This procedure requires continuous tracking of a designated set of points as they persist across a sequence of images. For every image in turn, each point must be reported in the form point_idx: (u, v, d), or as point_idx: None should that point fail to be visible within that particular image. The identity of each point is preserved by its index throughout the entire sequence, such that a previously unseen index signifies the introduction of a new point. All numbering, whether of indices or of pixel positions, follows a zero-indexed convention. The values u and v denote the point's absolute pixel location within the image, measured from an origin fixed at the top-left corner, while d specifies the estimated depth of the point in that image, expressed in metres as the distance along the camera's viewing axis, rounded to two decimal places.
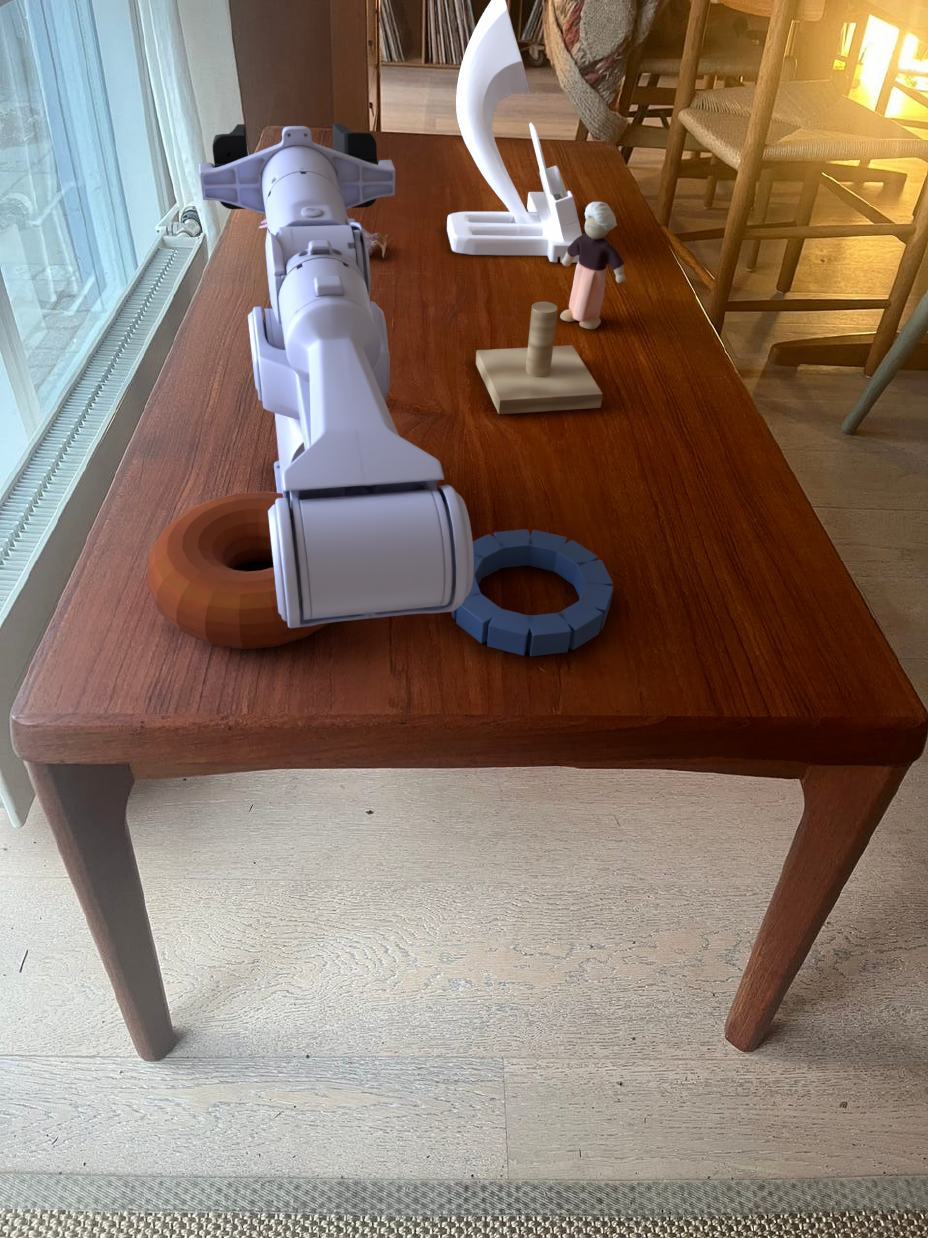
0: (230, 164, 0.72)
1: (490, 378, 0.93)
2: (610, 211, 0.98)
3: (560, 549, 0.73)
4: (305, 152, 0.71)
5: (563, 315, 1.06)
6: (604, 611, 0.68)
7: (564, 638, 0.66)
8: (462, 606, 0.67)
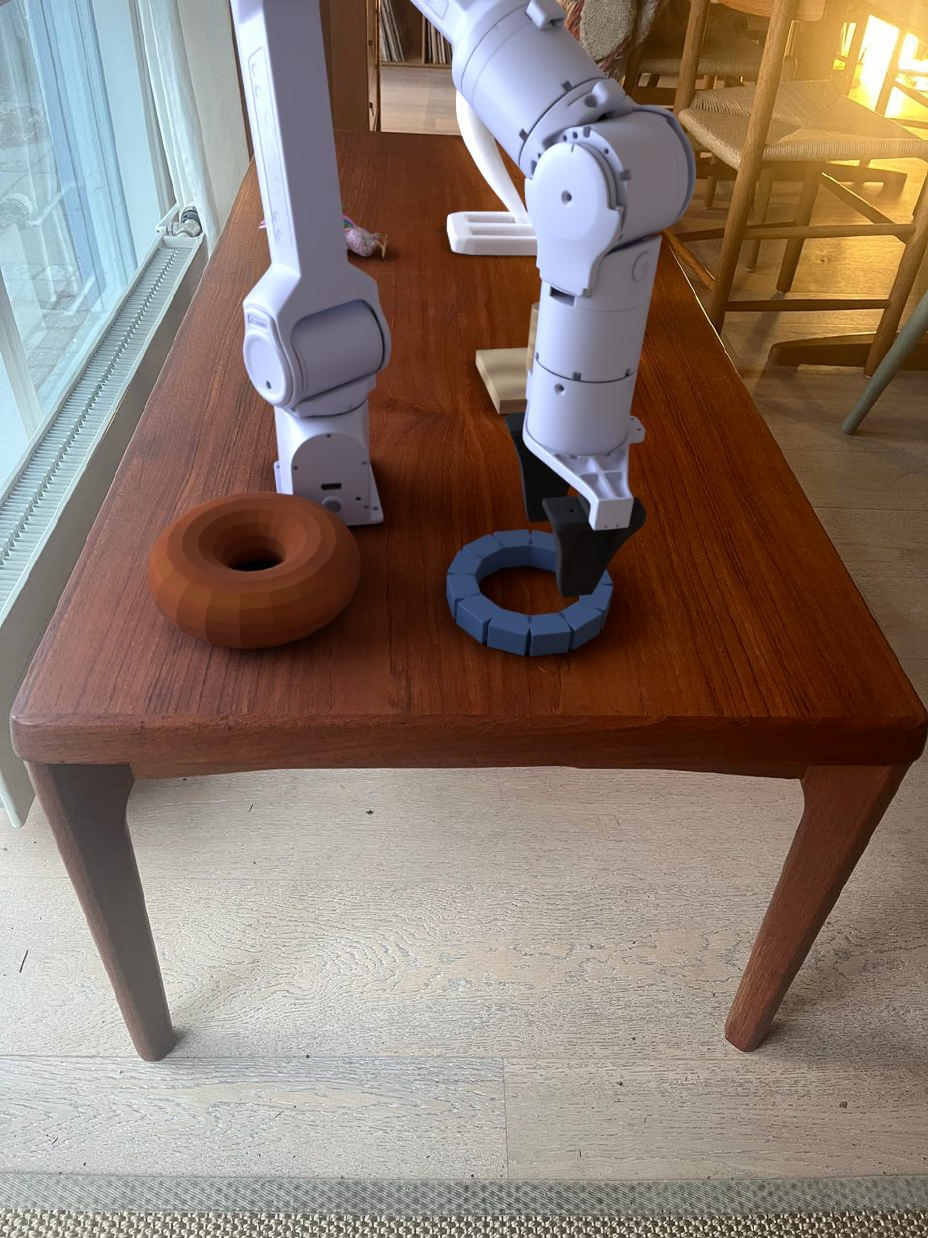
0: None
1: (490, 378, 0.93)
2: None
3: None
4: None
5: None
6: (604, 611, 0.68)
7: (564, 638, 0.66)
8: (462, 606, 0.67)
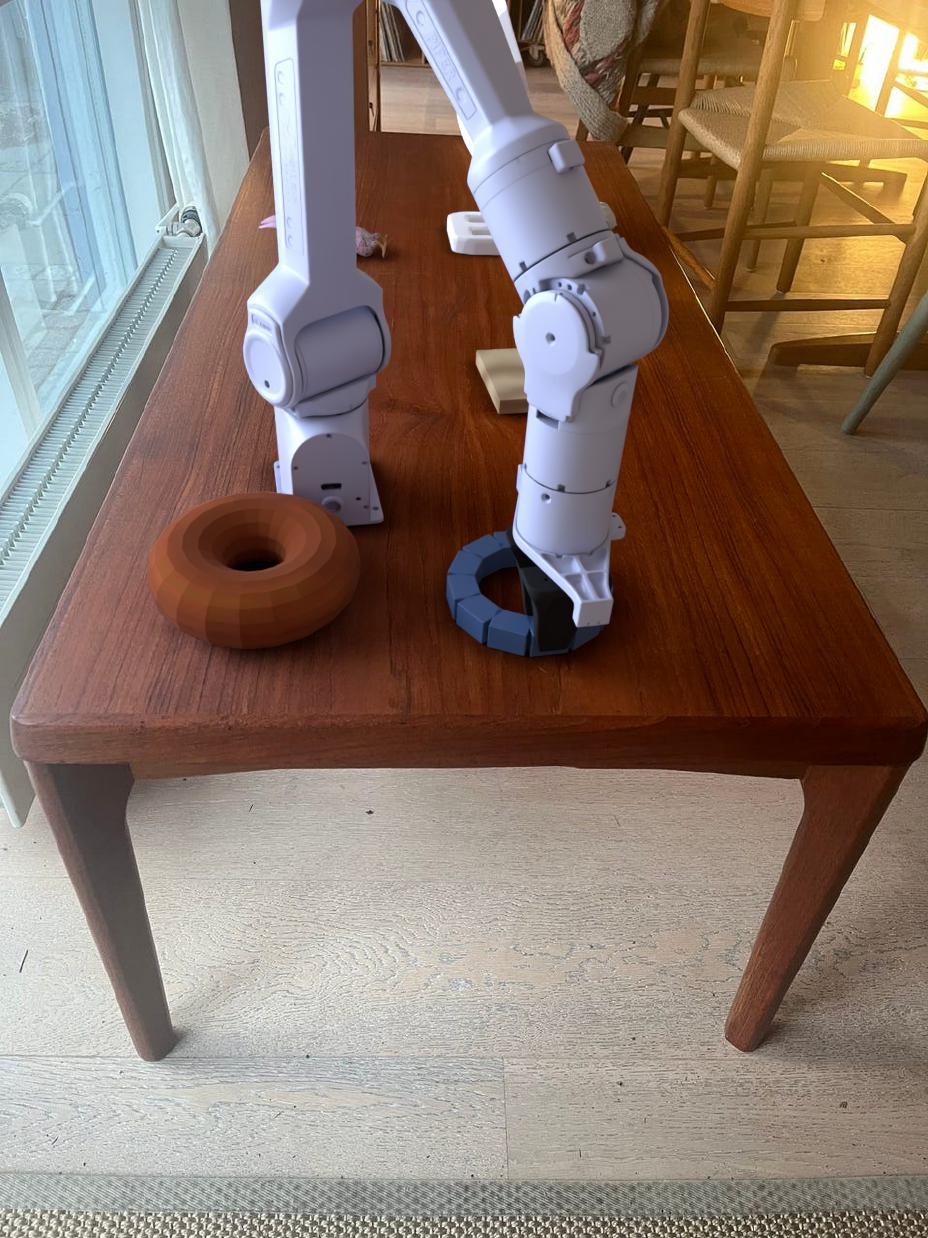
0: None
1: (490, 378, 0.93)
2: (610, 211, 0.98)
3: None
4: None
5: None
6: None
7: None
8: (462, 606, 0.67)
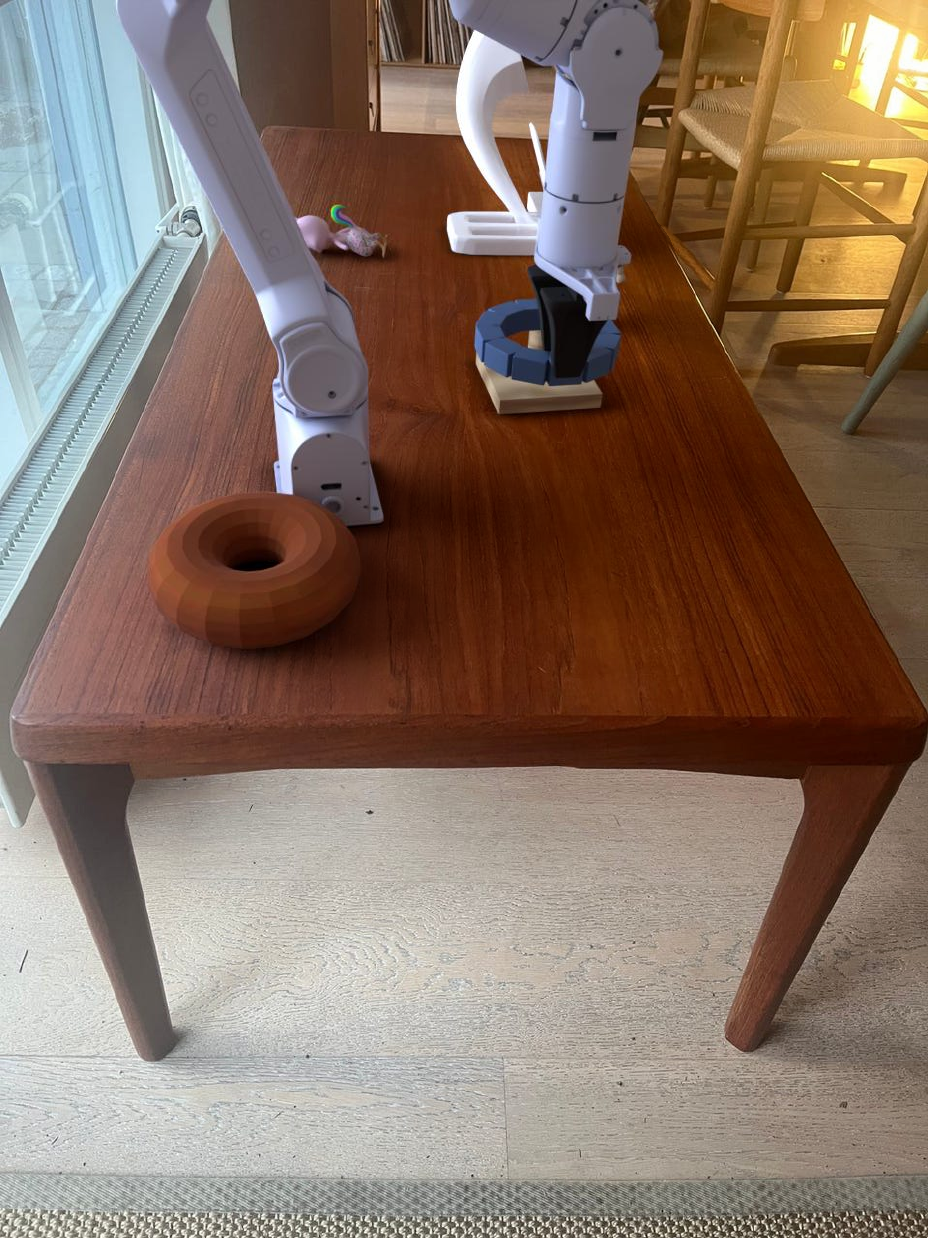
0: None
1: (490, 378, 0.93)
2: None
3: None
4: None
5: None
6: (613, 350, 0.78)
7: None
8: (489, 344, 0.77)
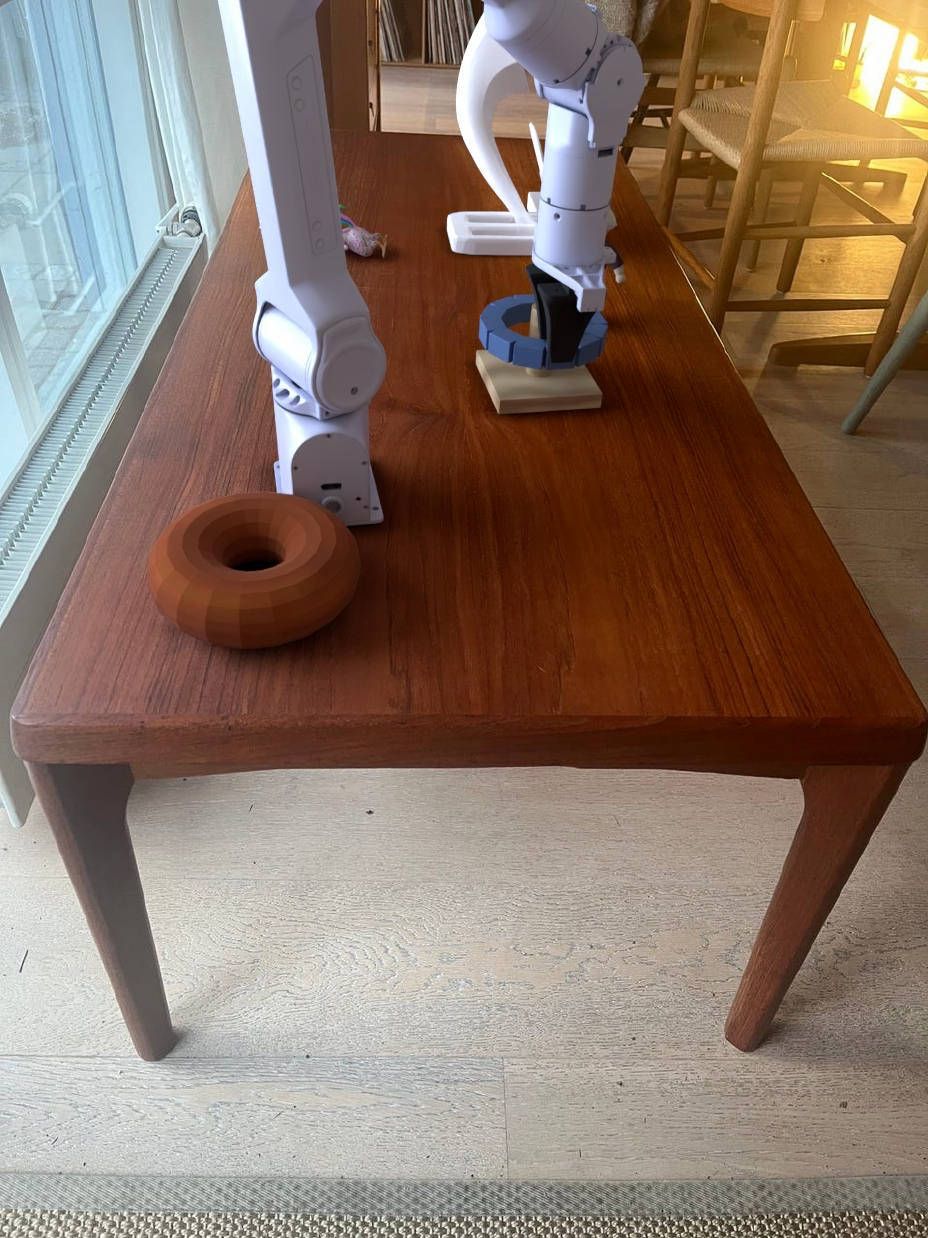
0: None
1: (490, 378, 0.93)
2: (610, 211, 0.98)
3: None
4: None
5: None
6: (601, 338, 0.89)
7: None
8: (493, 334, 0.88)
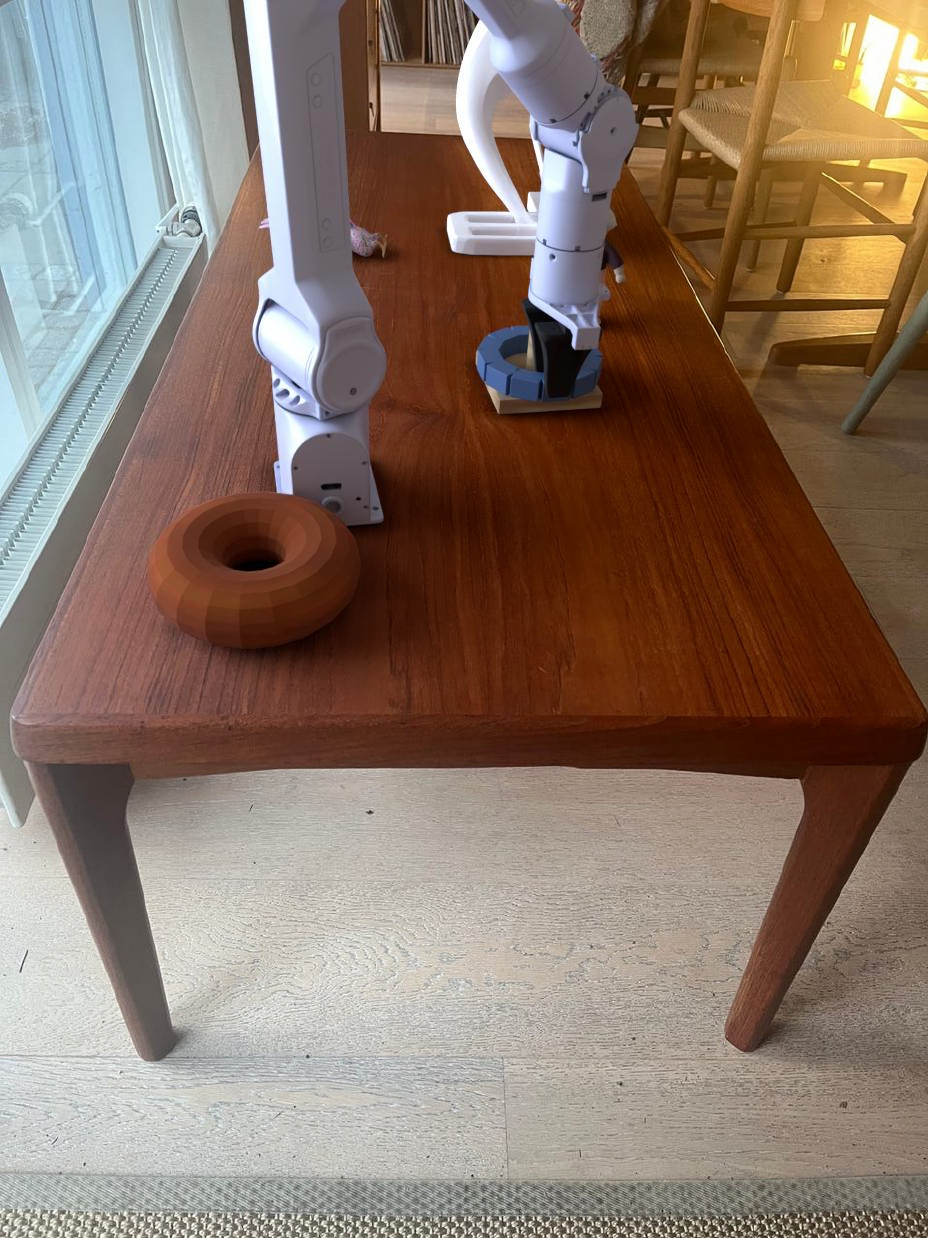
0: None
1: None
2: (610, 211, 0.98)
3: None
4: None
5: None
6: (596, 371, 0.91)
7: None
8: (490, 367, 0.90)
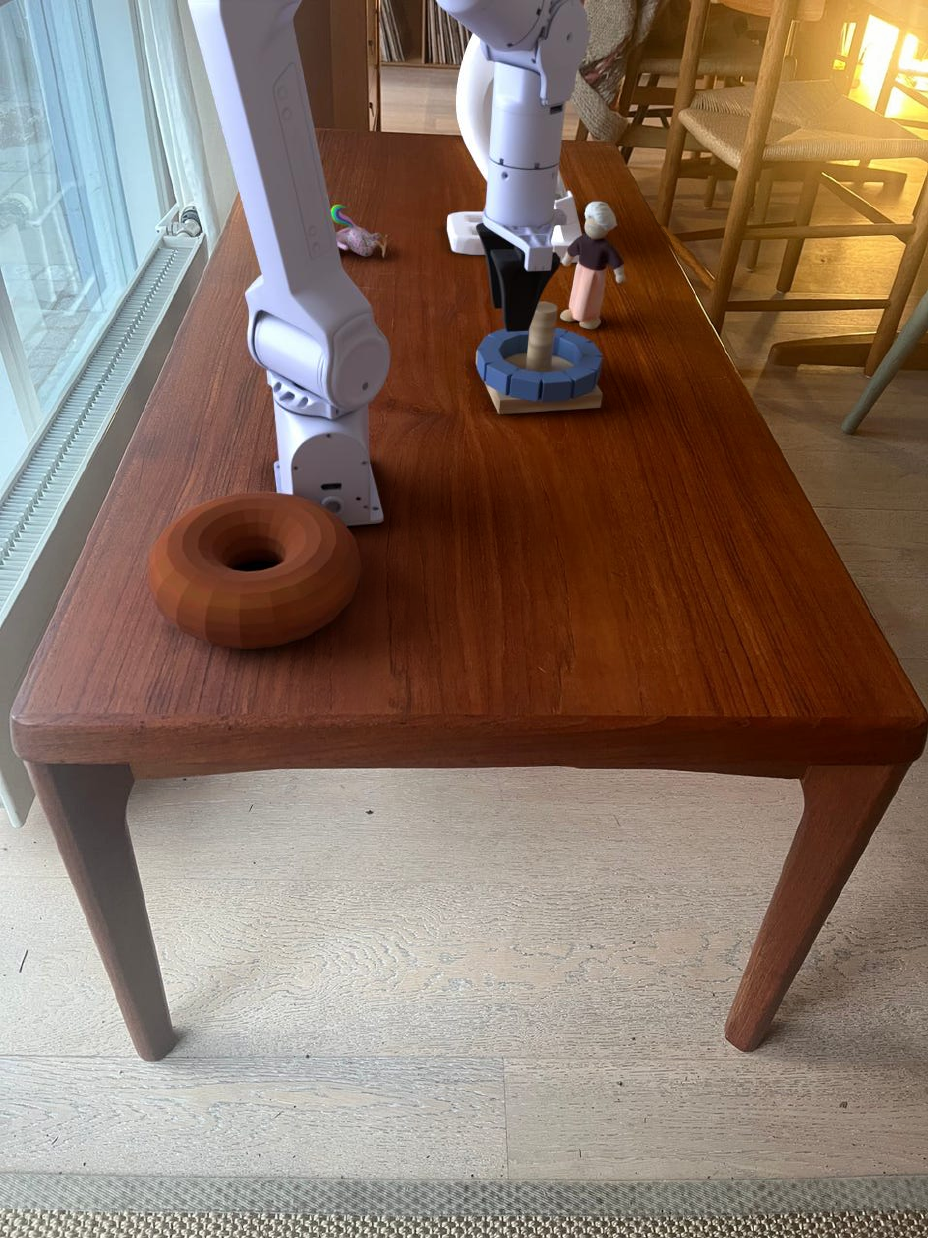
0: None
1: None
2: (610, 211, 0.98)
3: (562, 336, 0.96)
4: None
5: (563, 315, 1.06)
6: (596, 371, 0.91)
7: (567, 387, 0.89)
8: (490, 367, 0.90)
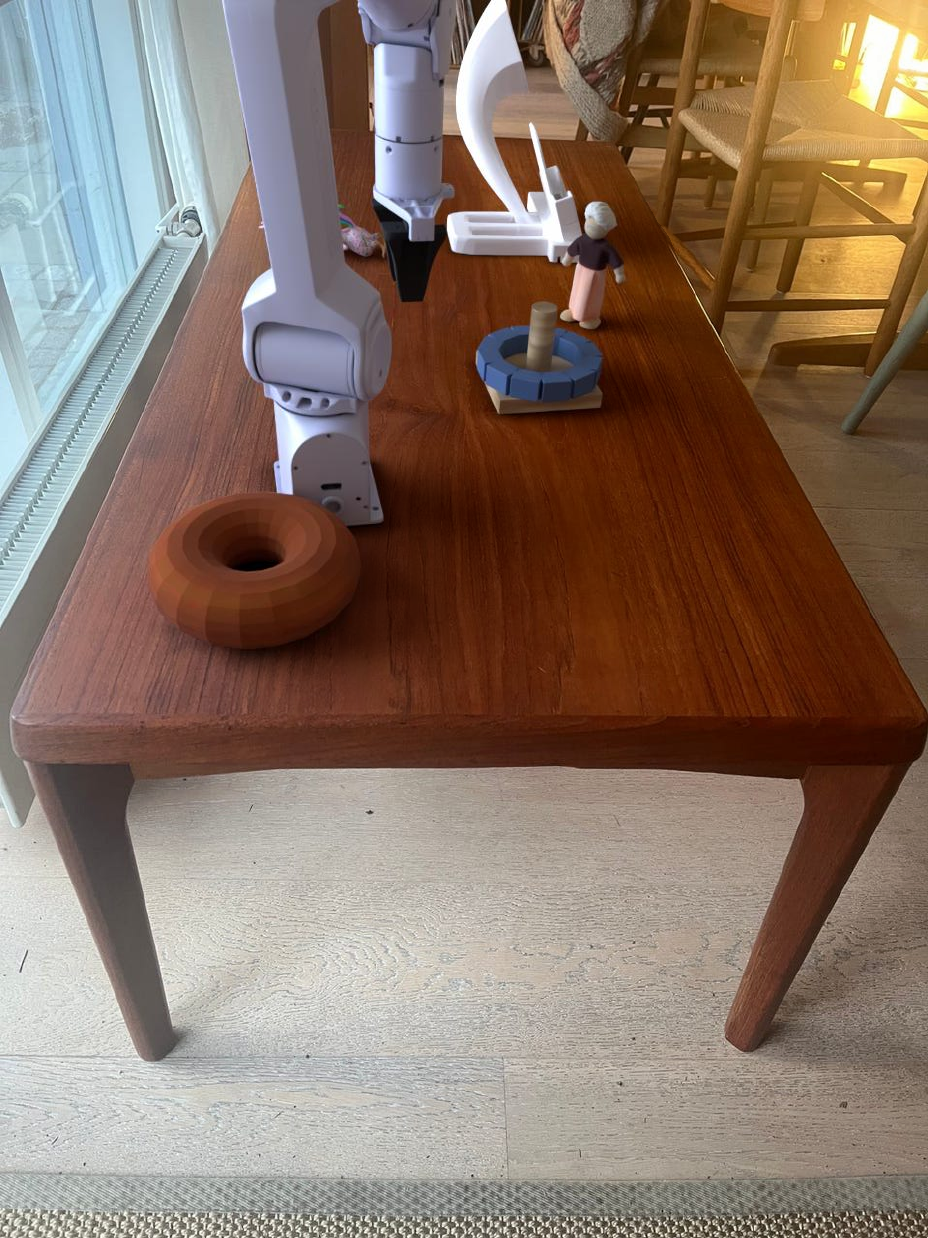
0: None
1: None
2: (610, 211, 0.98)
3: (562, 336, 0.96)
4: (441, 173, 0.84)
5: (563, 315, 1.06)
6: (596, 371, 0.91)
7: (567, 387, 0.89)
8: (490, 367, 0.90)
